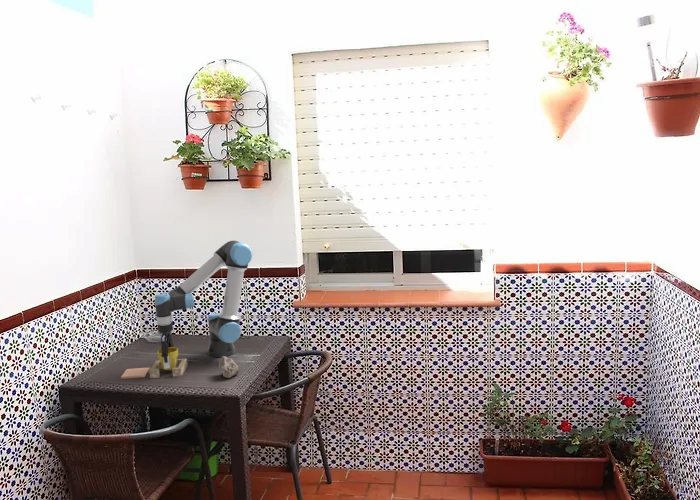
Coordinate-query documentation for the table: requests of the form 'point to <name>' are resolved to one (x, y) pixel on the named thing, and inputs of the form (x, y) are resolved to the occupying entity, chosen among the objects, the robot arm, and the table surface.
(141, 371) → the tile
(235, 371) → the rock
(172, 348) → the plant pot
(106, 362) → the table surface
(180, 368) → the flower pot holder
